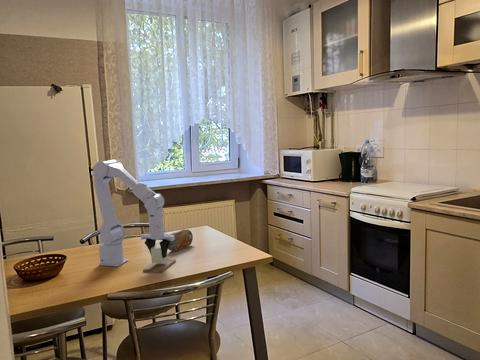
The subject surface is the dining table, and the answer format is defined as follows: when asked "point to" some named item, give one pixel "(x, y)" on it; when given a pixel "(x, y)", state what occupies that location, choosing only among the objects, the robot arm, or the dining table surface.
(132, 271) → the dining table surface
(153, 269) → the board
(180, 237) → the tin
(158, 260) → the block
